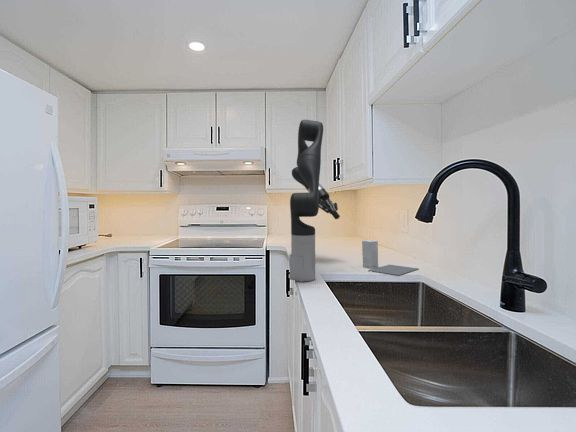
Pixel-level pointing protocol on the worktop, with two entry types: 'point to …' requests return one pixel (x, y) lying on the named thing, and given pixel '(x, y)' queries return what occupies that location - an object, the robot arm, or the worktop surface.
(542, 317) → the worktop surface
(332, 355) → the worktop surface
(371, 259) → the skincare box
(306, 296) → the worktop surface
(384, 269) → the slate mat
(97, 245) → the worktop surface
